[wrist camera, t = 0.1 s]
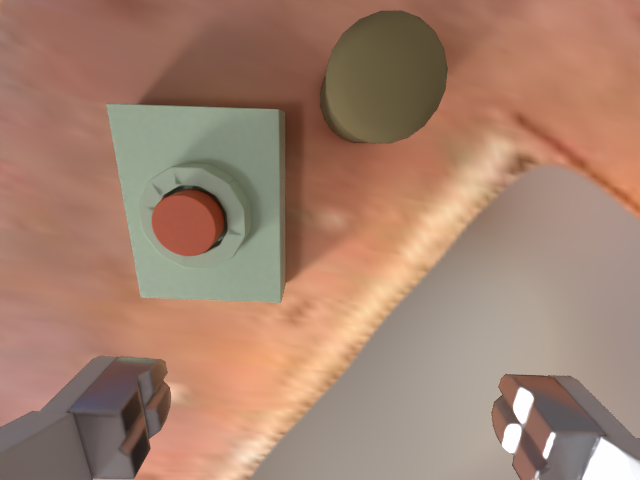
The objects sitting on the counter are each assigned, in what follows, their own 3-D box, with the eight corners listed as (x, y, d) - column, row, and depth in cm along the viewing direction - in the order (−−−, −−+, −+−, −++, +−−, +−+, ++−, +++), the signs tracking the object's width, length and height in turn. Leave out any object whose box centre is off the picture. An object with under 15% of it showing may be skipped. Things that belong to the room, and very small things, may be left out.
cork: (407, 135, 24) (471, 143, 13) (326, 149, 24) (327, 167, 14) (401, 42, 22) (470, -34, 11) (313, 59, 22) (301, 1, 12)
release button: (160, 187, 21) (146, 193, 19) (222, 190, 21) (213, 195, 19) (168, 245, 22) (155, 255, 20) (226, 248, 22) (218, 257, 20)
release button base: (134, 106, 23) (85, 101, 19) (285, 111, 23) (274, 107, 19) (160, 279, 28) (126, 310, 23) (285, 284, 28) (277, 316, 23)
